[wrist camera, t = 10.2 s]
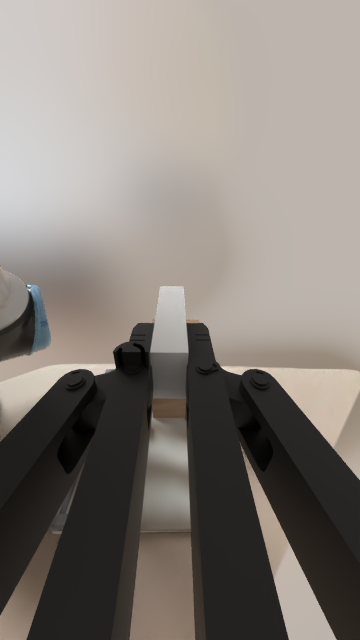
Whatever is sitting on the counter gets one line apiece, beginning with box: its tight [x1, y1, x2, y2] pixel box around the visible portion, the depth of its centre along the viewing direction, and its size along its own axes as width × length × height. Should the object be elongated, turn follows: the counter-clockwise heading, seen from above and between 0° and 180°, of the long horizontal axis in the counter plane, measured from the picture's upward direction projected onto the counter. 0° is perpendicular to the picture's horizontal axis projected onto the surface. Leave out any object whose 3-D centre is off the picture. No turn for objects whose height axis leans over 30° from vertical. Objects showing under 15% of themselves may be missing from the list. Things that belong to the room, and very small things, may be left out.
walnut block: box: [152, 320, 199, 418], centre depth 38 cm, size 8×8×16 cm
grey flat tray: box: [48, 370, 191, 534], centre depth 36 cm, size 25×21×3 cm
